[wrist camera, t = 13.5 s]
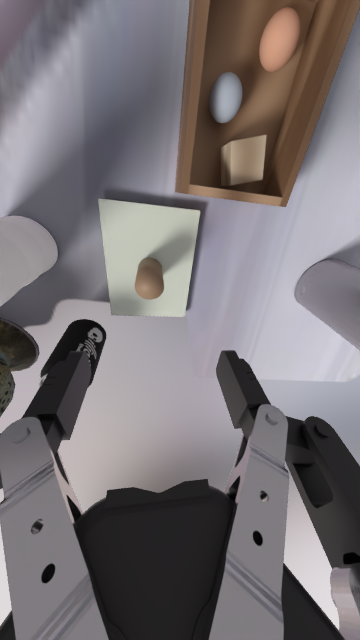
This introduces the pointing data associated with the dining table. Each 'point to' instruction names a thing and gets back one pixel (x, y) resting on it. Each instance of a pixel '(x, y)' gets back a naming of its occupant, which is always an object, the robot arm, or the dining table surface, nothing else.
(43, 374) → the beverage can
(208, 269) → the dining table surface
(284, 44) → the ball terracotta
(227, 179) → the maple cube
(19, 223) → the water bottle
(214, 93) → the ball slate
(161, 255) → the lid
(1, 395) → the lantern
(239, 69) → the box
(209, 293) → the dining table surface
